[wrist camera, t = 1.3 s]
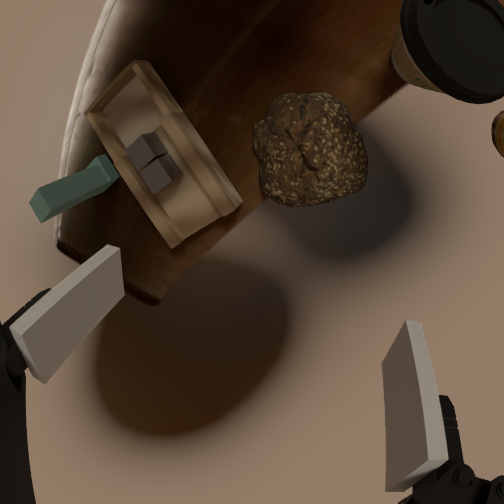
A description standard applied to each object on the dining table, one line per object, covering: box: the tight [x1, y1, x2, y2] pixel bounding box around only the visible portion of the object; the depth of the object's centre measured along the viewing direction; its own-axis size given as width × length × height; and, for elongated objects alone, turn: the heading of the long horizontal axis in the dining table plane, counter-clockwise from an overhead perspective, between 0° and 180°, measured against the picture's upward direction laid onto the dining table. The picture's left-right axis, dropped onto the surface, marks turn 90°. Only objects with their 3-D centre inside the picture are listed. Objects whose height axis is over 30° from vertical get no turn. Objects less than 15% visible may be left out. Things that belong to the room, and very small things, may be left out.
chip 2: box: [139, 154, 184, 195], centre depth 34 cm, size 3×3×3 cm
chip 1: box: [125, 132, 168, 171], centre depth 33 cm, size 3×3×3 cm
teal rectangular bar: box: [29, 154, 120, 223], centre depth 34 cm, size 4×4×13 cm
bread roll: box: [254, 92, 368, 208], centre depth 31 cm, size 13×12×5 cm
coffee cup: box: [391, 0, 504, 104], centre depth 18 cm, size 10×10×15 cm
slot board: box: [84, 59, 243, 249], centre depth 35 cm, size 22×10×4 cm, turn 34°
